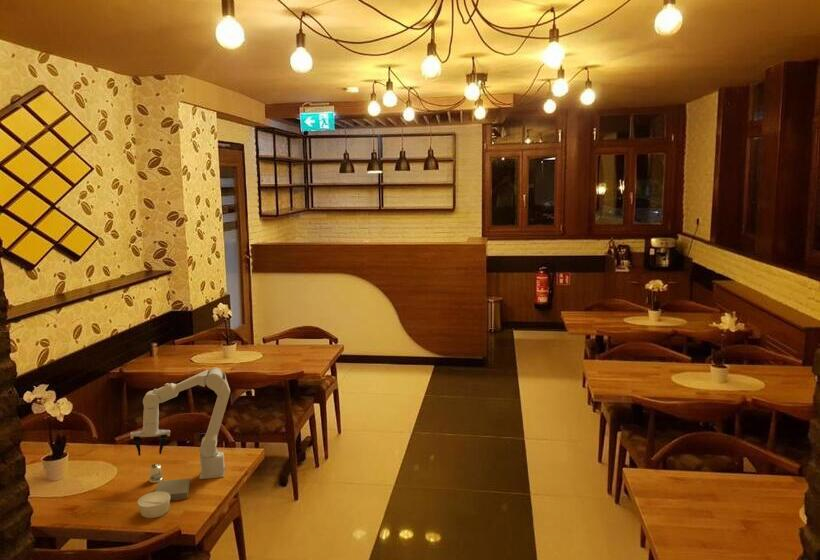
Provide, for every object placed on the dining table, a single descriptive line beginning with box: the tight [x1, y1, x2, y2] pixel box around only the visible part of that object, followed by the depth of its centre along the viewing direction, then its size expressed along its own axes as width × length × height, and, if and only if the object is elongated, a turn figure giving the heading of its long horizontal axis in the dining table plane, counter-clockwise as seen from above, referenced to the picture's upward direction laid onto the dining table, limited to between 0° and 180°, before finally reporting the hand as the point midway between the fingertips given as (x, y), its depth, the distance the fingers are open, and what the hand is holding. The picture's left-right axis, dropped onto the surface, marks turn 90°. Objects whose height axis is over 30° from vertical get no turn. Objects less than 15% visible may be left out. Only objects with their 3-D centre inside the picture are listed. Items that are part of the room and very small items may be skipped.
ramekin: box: [136, 491, 171, 519], centre depth 233 cm, size 11×11×5 cm
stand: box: [154, 477, 192, 502], centre depth 247 cm, size 12×12×2 cm
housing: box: [148, 463, 164, 484], centre depth 257 cm, size 5×5×7 cm
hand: (149, 453), depth 256 cm, fingers open, 7 cm apart
